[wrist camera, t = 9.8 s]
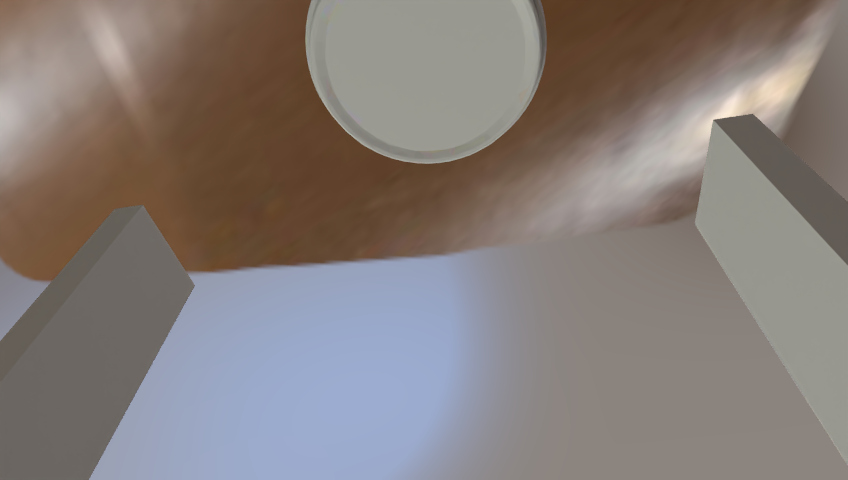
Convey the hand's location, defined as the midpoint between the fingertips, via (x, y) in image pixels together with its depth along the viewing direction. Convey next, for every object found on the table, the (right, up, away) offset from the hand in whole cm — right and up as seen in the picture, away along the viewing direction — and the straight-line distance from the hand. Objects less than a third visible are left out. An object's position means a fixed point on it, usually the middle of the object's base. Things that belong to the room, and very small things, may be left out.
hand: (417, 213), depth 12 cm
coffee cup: (0, +14, +17) cm, 22 cm away
